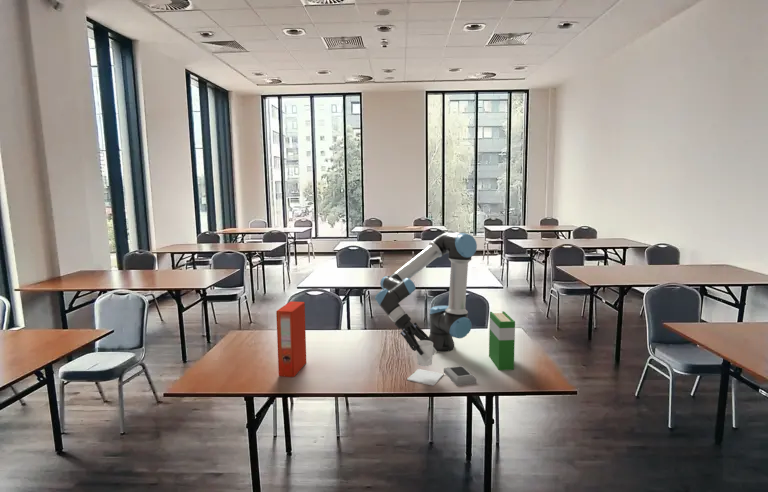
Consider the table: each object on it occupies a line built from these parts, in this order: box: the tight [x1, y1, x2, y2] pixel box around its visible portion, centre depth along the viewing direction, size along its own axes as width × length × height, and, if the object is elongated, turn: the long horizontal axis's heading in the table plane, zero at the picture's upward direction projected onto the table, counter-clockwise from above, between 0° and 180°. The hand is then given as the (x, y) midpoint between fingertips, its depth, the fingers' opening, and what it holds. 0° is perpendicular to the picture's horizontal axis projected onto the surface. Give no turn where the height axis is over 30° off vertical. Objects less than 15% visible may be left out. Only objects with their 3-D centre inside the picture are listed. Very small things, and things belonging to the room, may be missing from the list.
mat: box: [406, 368, 445, 387], centre depth 213 cm, size 13×13×1 cm
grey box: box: [443, 365, 477, 386], centre depth 213 cm, size 10×4×15 cm
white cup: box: [415, 339, 434, 367], centre depth 212 cm, size 8×8×10 cm
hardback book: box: [488, 311, 516, 371], centre depth 228 cm, size 18×7×24 cm, turn 2°
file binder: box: [275, 301, 307, 378], centre depth 223 cm, size 8×17×32 cm, turn 170°
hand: (431, 356), depth 210 cm, fingers closed on white cup, 8 cm apart
